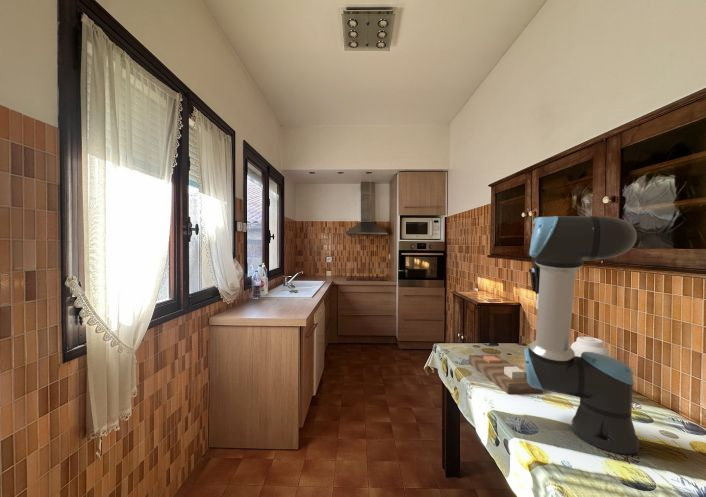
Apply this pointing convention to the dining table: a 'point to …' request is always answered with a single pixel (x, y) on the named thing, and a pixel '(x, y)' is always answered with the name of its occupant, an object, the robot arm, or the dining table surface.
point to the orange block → (491, 359)
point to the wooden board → (502, 375)
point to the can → (589, 346)
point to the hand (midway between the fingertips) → (540, 309)
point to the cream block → (514, 372)
